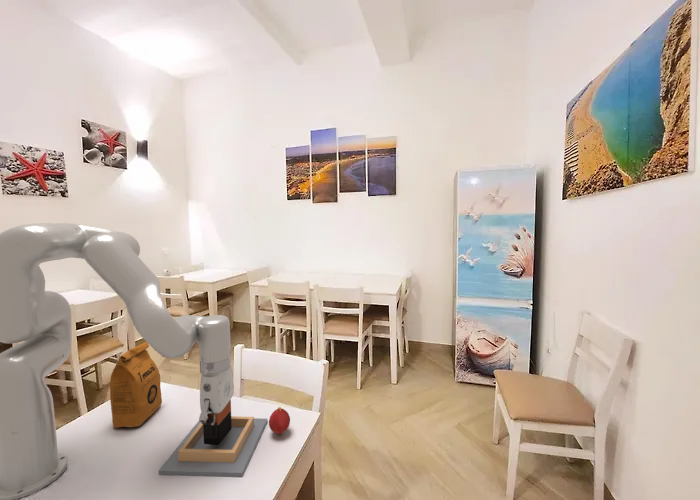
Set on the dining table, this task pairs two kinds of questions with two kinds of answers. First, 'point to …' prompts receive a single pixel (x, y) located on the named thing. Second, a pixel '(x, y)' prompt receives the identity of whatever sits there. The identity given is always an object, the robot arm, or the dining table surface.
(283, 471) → the dining table surface
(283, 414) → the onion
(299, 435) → the dining table surface
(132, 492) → the dining table surface
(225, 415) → the battery
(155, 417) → the dining table surface
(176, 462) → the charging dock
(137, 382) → the coffee package
